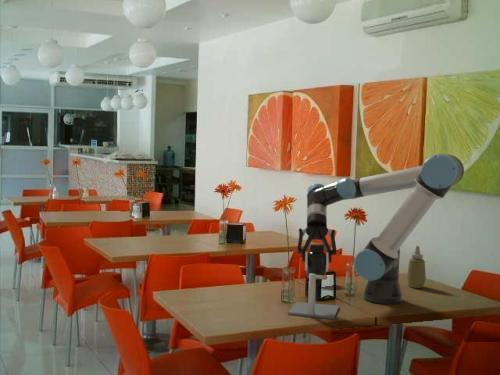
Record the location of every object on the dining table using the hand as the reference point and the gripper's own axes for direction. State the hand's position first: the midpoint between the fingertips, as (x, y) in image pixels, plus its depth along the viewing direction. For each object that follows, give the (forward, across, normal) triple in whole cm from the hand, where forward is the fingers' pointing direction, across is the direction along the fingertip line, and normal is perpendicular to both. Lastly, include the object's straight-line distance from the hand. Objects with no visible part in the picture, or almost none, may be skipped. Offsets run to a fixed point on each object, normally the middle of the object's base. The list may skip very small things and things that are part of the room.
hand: (316, 268), depth 213 cm
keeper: (+10, 0, -13) cm, 16 cm away
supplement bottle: (0, 0, -6) cm, 6 cm away
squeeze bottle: (-25, -45, -48) cm, 70 cm away
